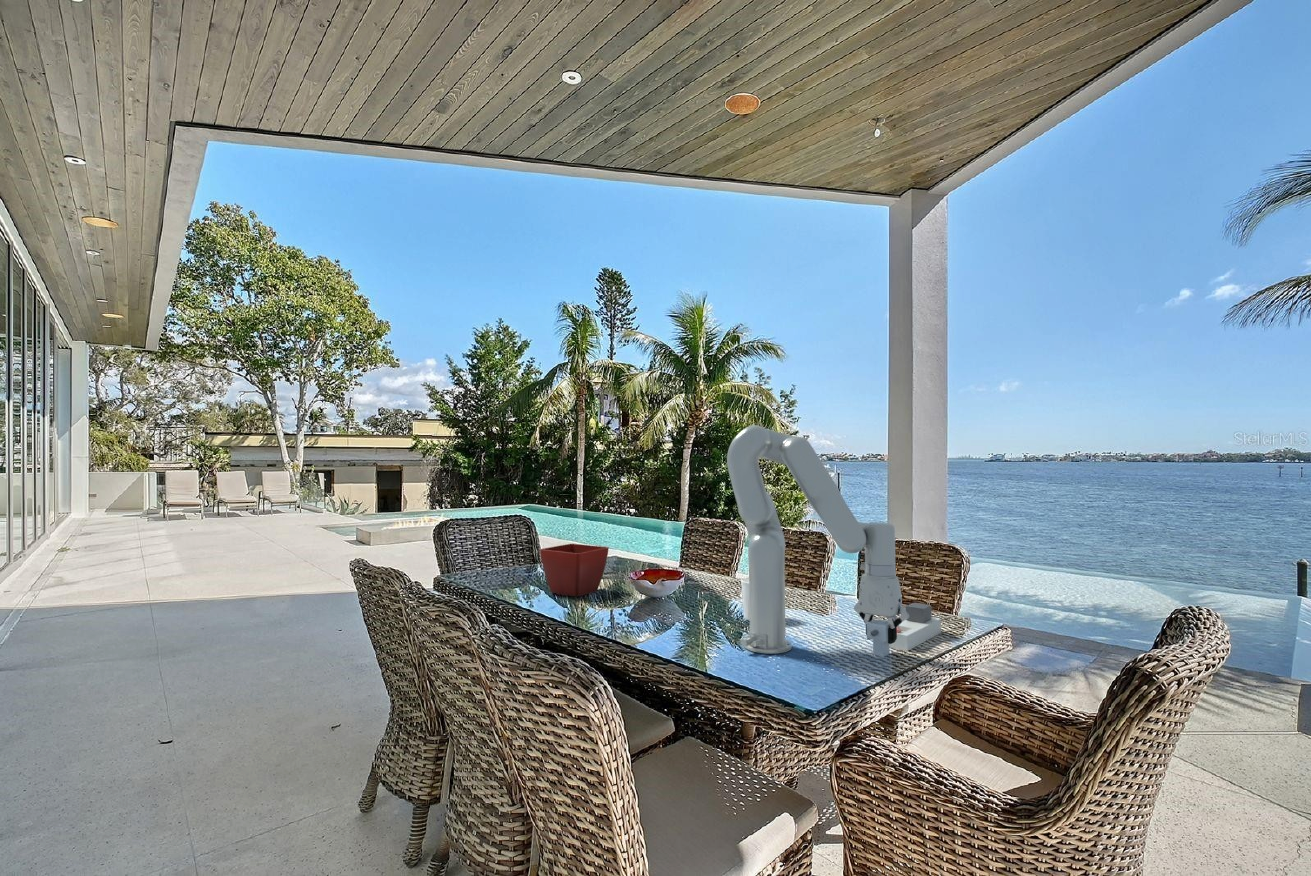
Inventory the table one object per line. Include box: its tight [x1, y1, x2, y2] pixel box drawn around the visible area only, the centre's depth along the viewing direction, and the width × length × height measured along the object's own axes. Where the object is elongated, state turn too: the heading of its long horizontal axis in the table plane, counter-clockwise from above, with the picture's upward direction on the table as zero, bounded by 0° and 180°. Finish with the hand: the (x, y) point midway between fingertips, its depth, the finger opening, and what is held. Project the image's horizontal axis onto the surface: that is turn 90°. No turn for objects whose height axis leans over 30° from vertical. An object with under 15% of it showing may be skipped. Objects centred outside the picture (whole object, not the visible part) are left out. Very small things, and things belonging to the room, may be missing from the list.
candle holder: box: [740, 577, 750, 622], centre depth 208 cm, size 10×10×12 cm
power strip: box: [889, 616, 942, 652], centre depth 184 cm, size 24×8×5 cm, turn 137°
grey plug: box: [866, 618, 891, 658], centre depth 170 cm, size 8×5×8 cm, turn 137°
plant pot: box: [539, 543, 609, 598], centre depth 248 cm, size 19×19×17 cm
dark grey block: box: [905, 602, 933, 623], centre depth 189 cm, size 8×5×8 cm, turn 137°
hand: (881, 639), depth 170 cm, fingers closed on grey plug, 4 cm apart
